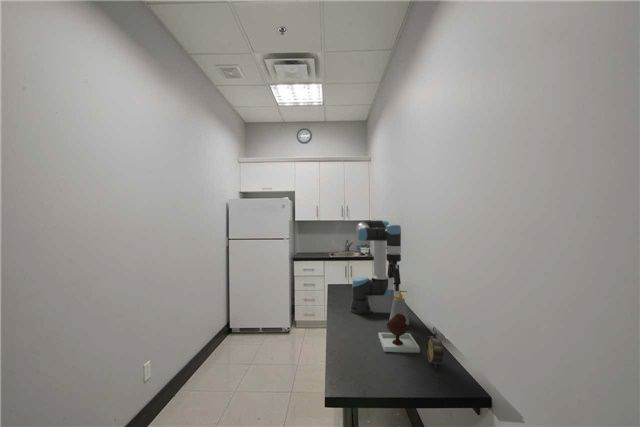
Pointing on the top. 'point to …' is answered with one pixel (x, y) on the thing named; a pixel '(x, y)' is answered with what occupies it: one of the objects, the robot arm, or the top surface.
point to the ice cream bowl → (397, 327)
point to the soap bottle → (399, 307)
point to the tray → (407, 346)
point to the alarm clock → (434, 349)
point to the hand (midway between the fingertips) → (393, 293)
